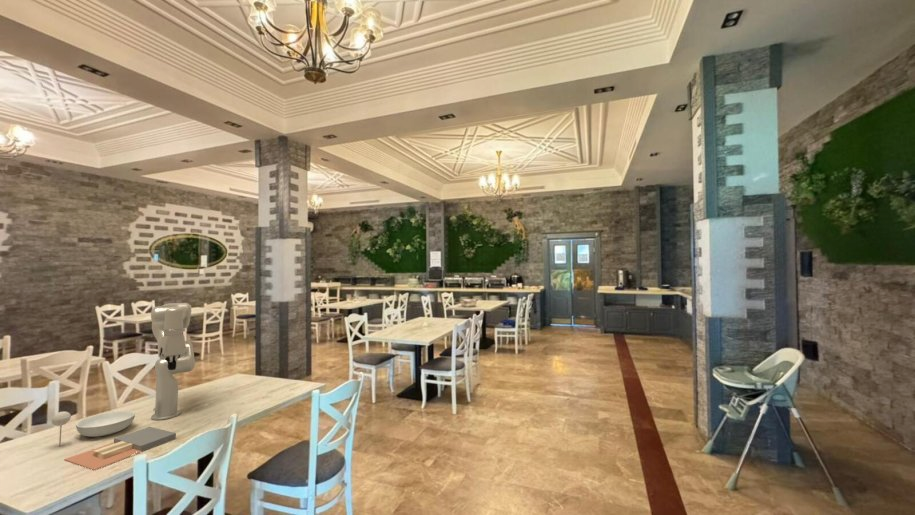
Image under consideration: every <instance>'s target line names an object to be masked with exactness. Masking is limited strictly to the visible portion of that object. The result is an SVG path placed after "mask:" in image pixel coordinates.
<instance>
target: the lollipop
mask: <svg viewBox="0 0 915 515" xmlns="http://www.w3.org/2000/svg"><path fill="white" fill-rule="evenodd" d="M71 418H72V415H71V413H70V412H68V411H59V412H57V413H55V414H54V415H53V416H52V418H51V424H53V425H54V426H56V427H58V426H59V440H58V447H61V445H62V444H61V442H62V426H63V425H66V424H68V423H69V422H70V421H71Z"/></svg>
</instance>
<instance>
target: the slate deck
mask: <svg viewBox="0 0 915 515" xmlns="http://www.w3.org/2000/svg"><path fill="white" fill-rule="evenodd" d="M176 439H177V433H176V432H174V431H169V430H165V429H161V428H157V427H152V426H148V427H144V428H141V429H138V430H135V431H132V432H129V433H126V434H123V435H120V436H117V437H115V438H113V443H117V442H120V441H124V442H127V443H131V444H133V448H132V449H136V450H139V451H142V450H144V451H147V450H149V449H152V448H154V447H157V446H159V445H163V444H165V443H168V442H171V441H173V440H176ZM142 452H143V451H142Z"/></svg>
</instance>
